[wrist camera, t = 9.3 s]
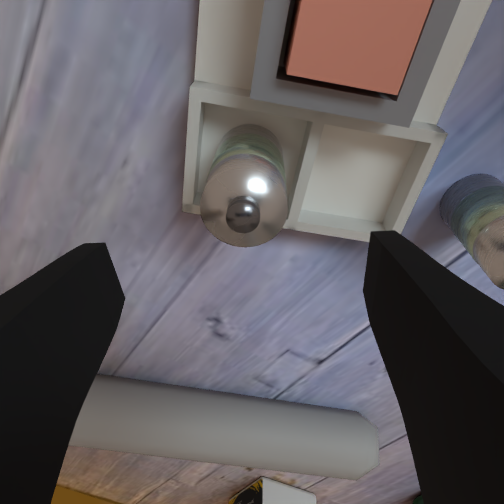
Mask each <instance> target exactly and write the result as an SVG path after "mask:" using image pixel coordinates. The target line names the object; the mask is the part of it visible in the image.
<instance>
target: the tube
mask: <svg viewBox="0 0 504 504" xmlns="http://www.w3.org/2000/svg"><path fill="white" fill-rule="evenodd" d="M68 446H77V447H85V448H93V449H101V450H110V451H118V452H126V453H134V454H143V455H151V456H159V457H167V458H175V459H184V460H192V461H200V462H208V463H217V464H225V465H233V466H241V467H250V468H258V469H266V470H274V471H282V472H291V473H299V474H307V475H315V476H324V477H332V478H340V479H348V480H358V479H360V478H361V477H363V476H364V475H365V474H367V473H368V472H369V471H371V470H372V469H374V468H375V467H376V466H378V465H379V445H378V428H377V427H376V426H375V425H374V424H372V423H371V422H370V421H369V420H367V419H366V418H365V417H364V416H362V415H361V414H360V413H359V412H357V411H352V410H345V409H338V408H331V407H324V406H317V405H310V404H303V403H296V402H289V401H282V400H276V399H269V398H262V397H255V396H248V395H241V394H234V393H227V392H220V391H213V390H206V389H199V388H192V387H185V386H178V385H171V384H164V383H157V382H150V381H143V380H136V379H130V378H123V377H116V376H109V375H102V374H96V377H95V379H94V381H93V383H92V385H91V388H90V390H89V392H88V394H87V396H86V399H85V401H84V403H83V406H82V408H81V411H80V413H79V416H78V418H77V421H76V424H75V427H74V430H73V433H72V436H71V439H70V442H69V445H68Z"/></svg>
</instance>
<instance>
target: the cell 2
mask: <svg viewBox="0 0 504 504" xmlns="http://www.w3.org/2000/svg"><path fill="white" fill-rule="evenodd" d="M440 214H441V217H442V219H443V220H444V221H445V223H446V224H447V225H448V226H449V228H450V229H451V230H452V231H453V233H454V235H455V236H456V237H457V238H458V240H459V241H460V242H461V244H462V245H463V246H464V247H465V249H466V250H467V251H468V252H469V254H470V255H471V256H472V257H473V259H474V260H475V261H476V262H477V264H479V266H480V267H481V268H482V269H483V271H484V272H485V273H486V274H487V276H488V277H489V278H490V279H491V281H492V282H493V283H494V284H495V285H496V286H497V287H499V288H501V289H504V184H503V183H502V182H501V181H500V180H498V179H497V178H496V177H494V176H491V175H488V174H474V175H470V176H467V177H465V178H463V179H461V180H459V181H457V182H456V183H455V184H453V185H452V186H451V187H450V188H449V189H448V190H447V191H446V193H445V194H444V196H443V198H442V200H441V203H440Z"/></svg>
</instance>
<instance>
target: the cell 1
mask: <svg viewBox="0 0 504 504" xmlns="http://www.w3.org/2000/svg"><path fill="white" fill-rule="evenodd" d="M200 214H201V217H202V220H203V222H204V224H205V226H206V228H207V229H208V230H209V231H210V232H211V233H212V234H213V235H214V236H215V237H216V238H217V239H219V240H221V241H222V242H224V243H227V244H230V245H233V246H237V247H253V246H258V245H261V244H264V243H266V242H268V241H269V240H271V239H273V238H274V237H275V236H276V235H277V234H278V233H279V232H280V231H281V229H282V228H283V226H284V224H285V222H286V219H287V214H288V204H287V188H286V178H285V167H284V161H283V151H282V147H281V144H280V142H279V140H278V139H277V137H276V136H275V135H274V134H273V133H272V132H271V131H270V130H268V129H266V128H265V127H262V126H260V125H256V124H243V125H239V126H236V127H234V128H232V129H231V130H229V131H228V132H227V133H226V134H225V135H224V136H223V138H222V139H221V141H220V143H219V146H218V149H217V152H216V154H215V156H214V159H213V162H212V165H211V168H210V171H209V174H208V177H207V180H206V184H205V187H204V190H203V193H202V196H201V200H200Z"/></svg>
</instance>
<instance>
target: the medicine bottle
mask: <svg viewBox="0 0 504 504" xmlns="http://www.w3.org/2000/svg"><path fill="white" fill-rule="evenodd" d="M228 504H316V496H315V494H314V493H311V492H308V491H305V490H302V489H299V488H296V487H293V486H290V485H287V484H284V483H281V482H278V481H275V480H272V479H269V478H266V477H260V478H259V479H258V480H256V481H255V482H253V483H252V484H250V485H249V486H248V487H246V488H245V489H243V490H242V491H241V492H239V493H238V494H236V495H235V496H234V497H232V498H231V499H230V500H229V502H228Z"/></svg>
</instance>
